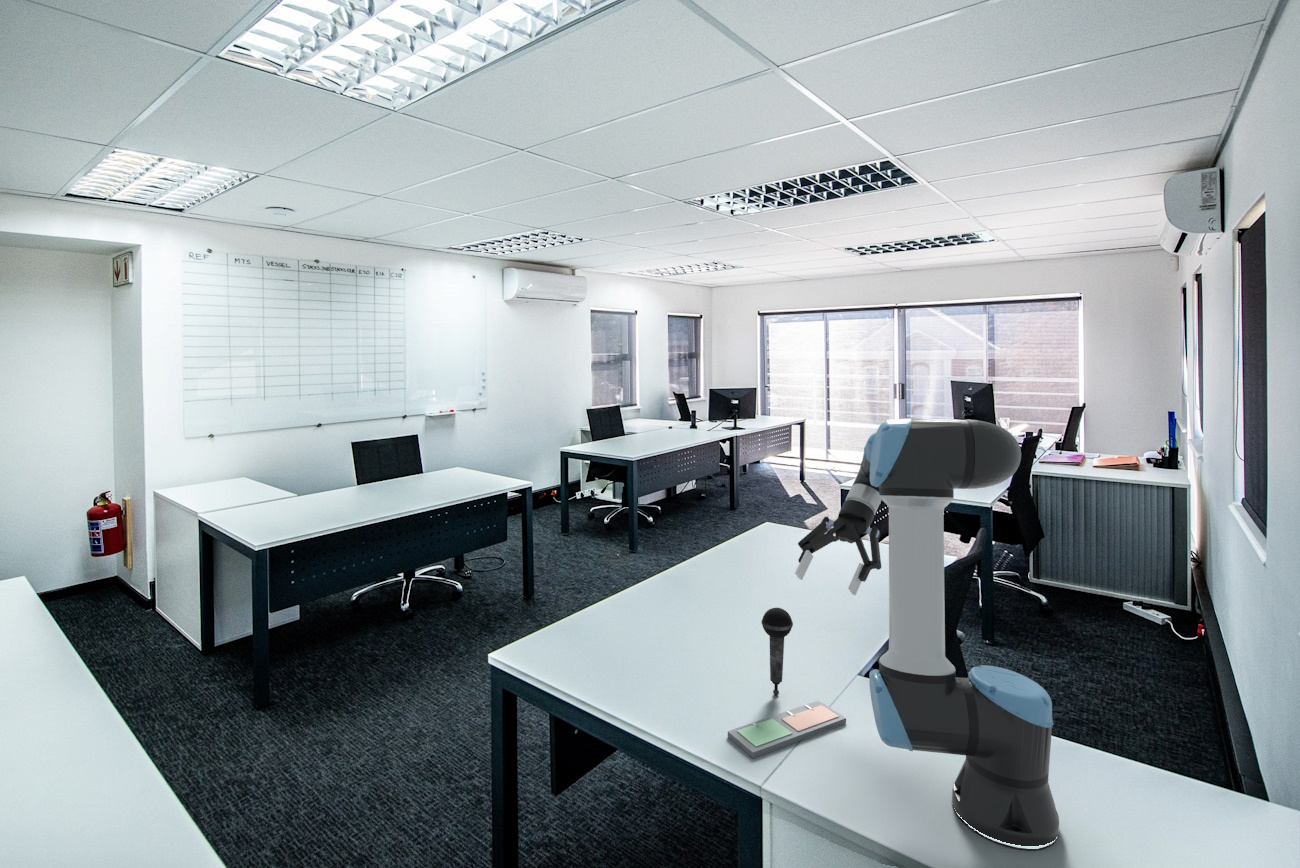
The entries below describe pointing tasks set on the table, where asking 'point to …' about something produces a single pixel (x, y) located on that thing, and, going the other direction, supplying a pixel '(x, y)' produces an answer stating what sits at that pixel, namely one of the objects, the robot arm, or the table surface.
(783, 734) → the board
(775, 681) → the microphone
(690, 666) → the table surface
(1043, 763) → the robot arm
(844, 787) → the table surface
